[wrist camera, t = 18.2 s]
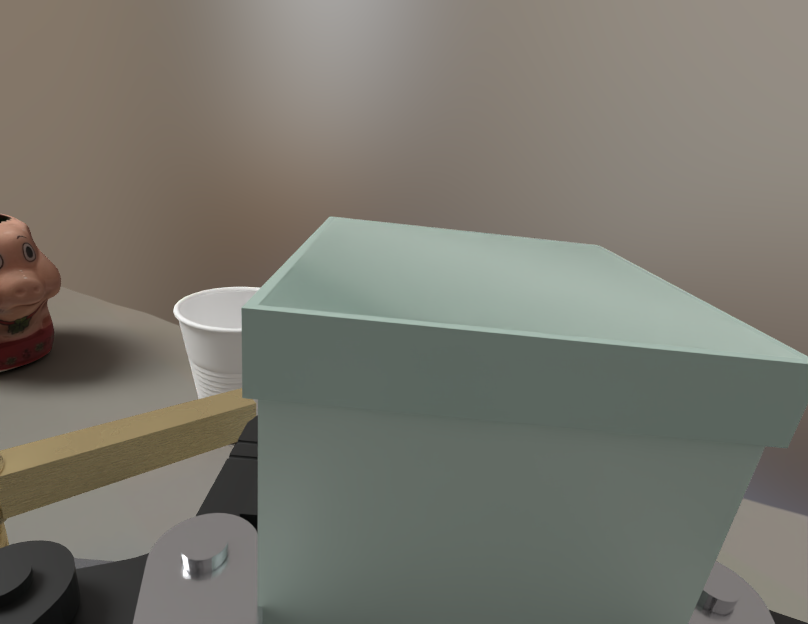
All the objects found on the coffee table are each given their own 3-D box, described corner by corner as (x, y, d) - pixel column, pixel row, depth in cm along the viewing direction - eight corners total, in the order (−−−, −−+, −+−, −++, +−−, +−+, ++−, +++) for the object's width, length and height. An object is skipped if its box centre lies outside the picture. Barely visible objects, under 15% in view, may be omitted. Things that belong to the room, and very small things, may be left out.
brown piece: (-44, 687, 19) (-101, 511, 16) (-44, 632, 21) (-95, 465, 18) (259, 540, 27) (260, 405, 24) (239, 510, 29) (238, 382, 26)
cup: (313, 446, 39) (320, 325, 36) (182, 470, 35) (174, 335, 31) (287, 388, 48) (290, 284, 44) (179, 402, 43) (172, 288, 40)
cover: (544, 982, 8) (824, 366, 4) (248, 968, 7) (240, 308, 4) (491, 671, 12) (598, 245, 8) (306, 658, 12) (329, 216, 8)
